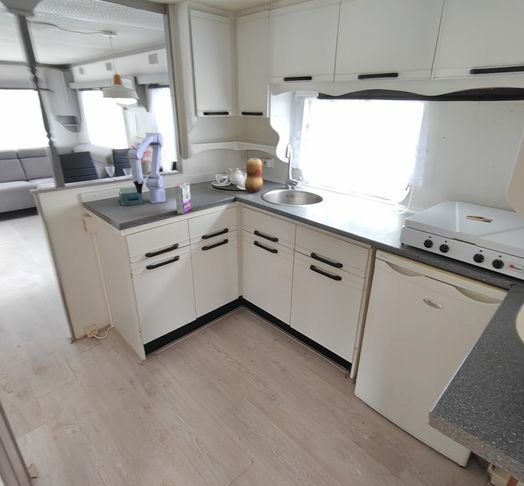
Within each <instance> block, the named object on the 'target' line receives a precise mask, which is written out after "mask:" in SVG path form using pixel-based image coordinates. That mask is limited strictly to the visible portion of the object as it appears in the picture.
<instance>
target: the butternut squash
mask: <svg viewBox="0 0 524 486" xmlns="http://www.w3.org/2000/svg"><path fill="white" fill-rule="evenodd" d="M245 171H246V172H245V173H246V178H245V181H244V189H245V190H246V192H248V193H253V194H255V193H259V192H260V191H261V190H262V189H263V187H264V181H263V178H262V175H263V162H262V160H261V159H259V158H257V157H255V158H254V157H251V158H249V159H248V160H247V161H246V166H245Z"/></svg>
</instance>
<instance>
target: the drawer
mask: <svg viewBox="0 0 524 486" xmlns="http://www.w3.org/2000/svg"><path fill="white" fill-rule="evenodd" d="M122 197H123V203H124V205H127V206H129V205H128V204H135V205H137V204H136V203H143V204H144V201H143V202H142V197H143V193H142V194H141V193H134V194H124V195H122Z"/></svg>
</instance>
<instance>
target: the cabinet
mask: <svg viewBox="0 0 524 486" xmlns="http://www.w3.org/2000/svg"><path fill="white" fill-rule="evenodd" d="M117 193H118V199H119V202H120V204H121V205H122V206H123V207H125V206H133V205H143V204H144V197H143V196H142V202H143V203H136V204H128V205H124V203H123V197H122V195H124V194H134V193H138V192H137V189H136V187H135V186H131V187H121V188H120V187H119V188H117ZM141 194H142V195H143V192H142V193H141Z"/></svg>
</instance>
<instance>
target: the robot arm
mask: <svg viewBox="0 0 524 486" xmlns="http://www.w3.org/2000/svg"><path fill="white" fill-rule="evenodd" d="M148 146H149V147H150V148H151V149H152V152H151V164H150V173H148V174H147V176H146V179H145V182H144V177H143V176H144V175H143V170H142V161H141V160H142V159H143V155H144V153H145V152H146V151H147V147H148ZM163 146H164V137H163V134H162V133H161V132H146V133H145V134H144V138H143V140H142V141H141V142H137V143H136V145H134V147H133V148H132V149H129V150H128V151H127V155H126V157H127V159H128V162H129V163H130V170H131V176H132V177H130V181H132V183H133V184H134V187H136V189H137V192H138V193H142V194H143V186H144V183H145V186H146V188H147V189H148V190H149V199H148V201H149V202H150V203H151V204H157V203H158V204H159V203H166V202H167V200H166V191H165V188H164V187H163V186H164V181H163V180H164V179H163V178H164V177H163V176H162V175H161V174H160V167H161V153H162V148H163Z"/></svg>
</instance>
